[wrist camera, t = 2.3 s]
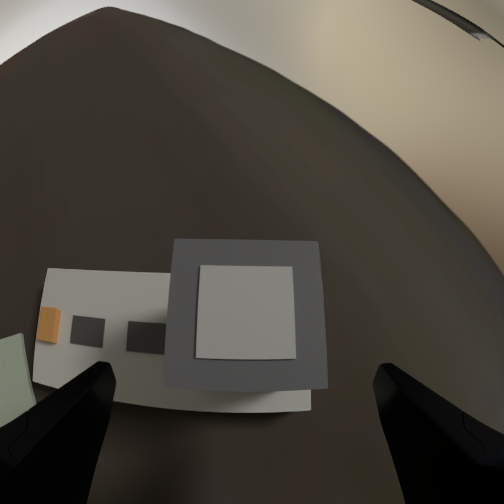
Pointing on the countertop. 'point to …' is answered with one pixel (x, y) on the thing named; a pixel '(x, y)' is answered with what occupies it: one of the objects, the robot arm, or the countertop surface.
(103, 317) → the power strip
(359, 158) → the countertop surface
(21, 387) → the mat
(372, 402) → the countertop surface
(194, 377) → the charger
